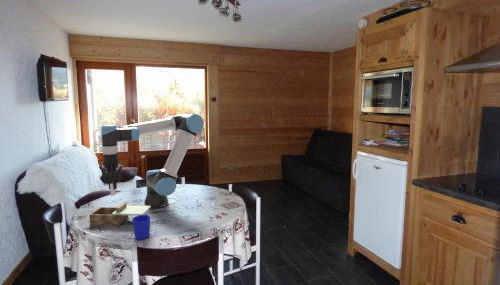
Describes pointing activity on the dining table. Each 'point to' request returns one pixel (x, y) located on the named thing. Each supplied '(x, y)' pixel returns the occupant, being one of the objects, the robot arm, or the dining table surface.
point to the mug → (141, 226)
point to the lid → (130, 210)
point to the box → (106, 217)
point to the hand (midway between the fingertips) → (113, 194)
